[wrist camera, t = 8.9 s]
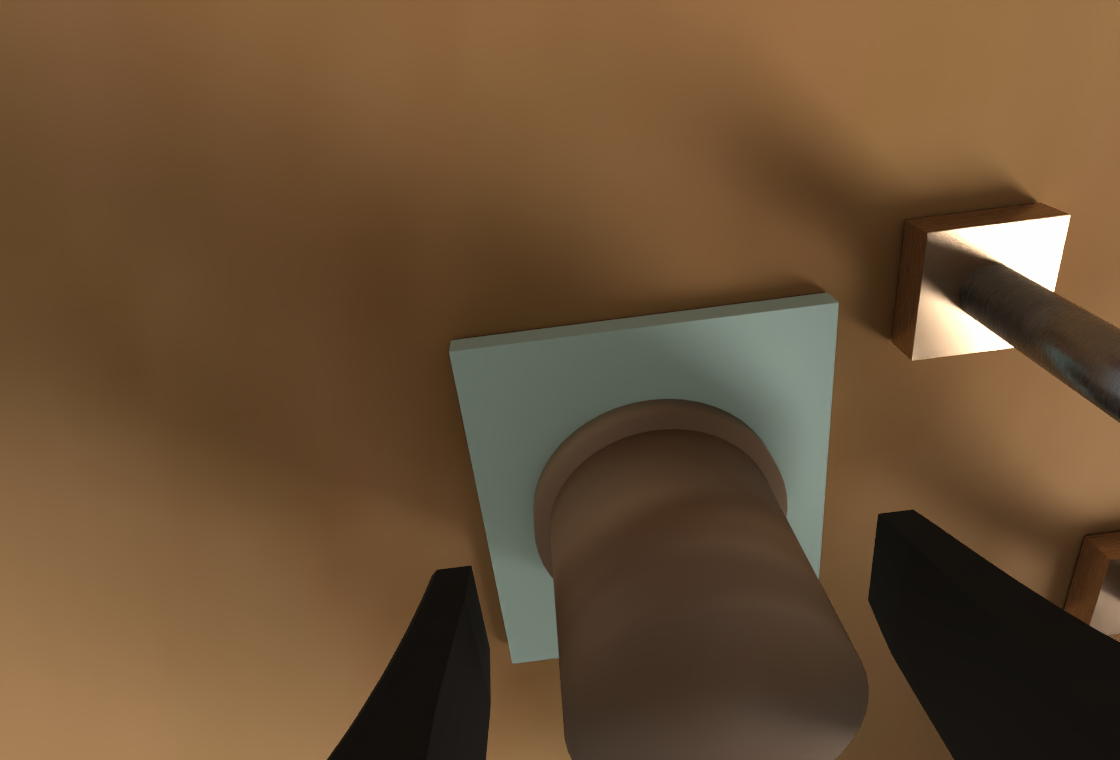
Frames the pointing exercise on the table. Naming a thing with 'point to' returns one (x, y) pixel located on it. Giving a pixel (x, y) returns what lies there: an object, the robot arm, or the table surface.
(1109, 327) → the buzz wire
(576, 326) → the pad
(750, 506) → the brown domed cylinder
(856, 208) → the table surface
